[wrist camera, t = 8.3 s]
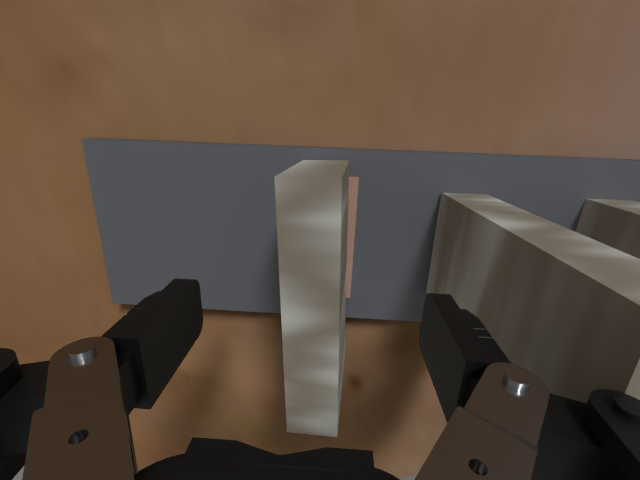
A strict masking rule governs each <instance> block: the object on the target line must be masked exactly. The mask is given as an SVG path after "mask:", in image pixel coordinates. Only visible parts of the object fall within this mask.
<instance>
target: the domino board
mask: <svg viewBox="0 0 640 480" xmlns="http://www.w3.org/2000/svg"><path fill="white" fill-rule="evenodd" d="M82 143H83V148H84V153H85V159H86V164H87V169H88V174H89V179H90V185H91V190H92V195H93V200H94V206H95V211H96V216H97V221H98V227H99V232H100V237H101V242H102V248H103V253H104V258H105V263H106V268H107V274H108V279H109V284H110V289H111V295H112V300H113V303H114V304H131V305H137V304H138V303H139V302H140V301H141V300H143V299H144V298H145V297H147V296H149V295H151V294H153V293H155V292H157V291H162V290H163V289H164V288H165V287H166V286H167V285H168V284H169V283H170V282H171V281H172V280H173V279H175V278H179V279H196V280H198V282H199V284H200V293H201V303H202V309H214V310H231V311H248V312H265V313H281V303H280V282H279V261H278V241H277V220H276V199H275V179H274V177H275V176H276V175H278V174H280V173H282V172H283V171H285V170H287V169H289V168H290V167H292V166H294V165H295V164H297V163H299V162H301V161H302V160H349V193H348V234H347V276H346V317H348V318H365V319H382V320H399V321H415V322H421V321H422V315H423V308H424V302H425V297H426V289H427V282H428V276H429V270H430V263H431V257H432V250H433V244H434V238H435V231H436V225H437V218H438V212H439V206H440V199H441V193H468V194H487V195H490V196H492V197H495V198H497V199H499V200H502V201H504V202H506V203H509V204H511V205H513V206H516V207H518V208H520V209H523V210H525V211H528V212H530V213H532V214H535V215H537V216H539V217H542V218H544V219H546V220H549V221H551V222H554V223H556V224H558V225H561V226H563V227H565V228H568V229H570V230H572V231H575V232H576V229H577V226H578V223H579V219H580V216H581V213H582V209H583V206H584V203H585V199H606V200H628V201H636V202H640V160H629V159H604V158H579V157H554V156H529V155H504V154H479V153H454V152H429V151H404V150H379V149H354V148H329V147H304V146H280V145H255V144H230V143H205V142H180V141H155V140H130V139H105V138H87V139H82Z"/></svg>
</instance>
